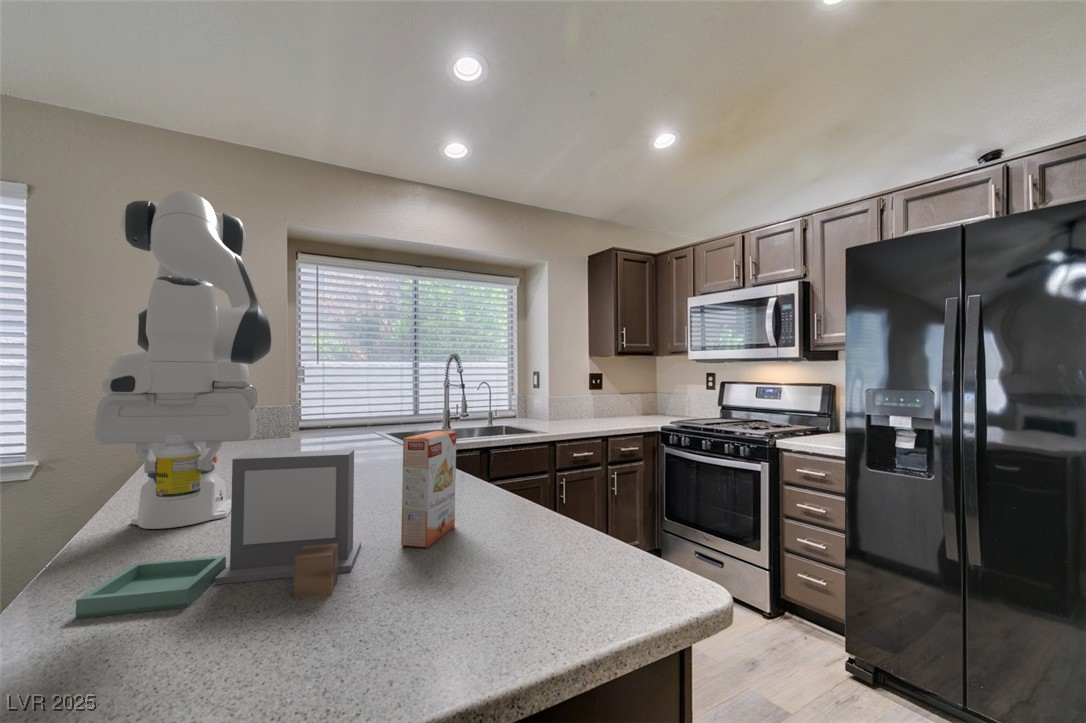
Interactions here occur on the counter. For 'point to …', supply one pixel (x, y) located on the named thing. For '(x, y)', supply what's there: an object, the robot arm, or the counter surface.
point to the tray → (151, 587)
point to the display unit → (289, 512)
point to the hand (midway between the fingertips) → (179, 471)
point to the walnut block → (315, 571)
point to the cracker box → (428, 487)
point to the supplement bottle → (177, 470)
